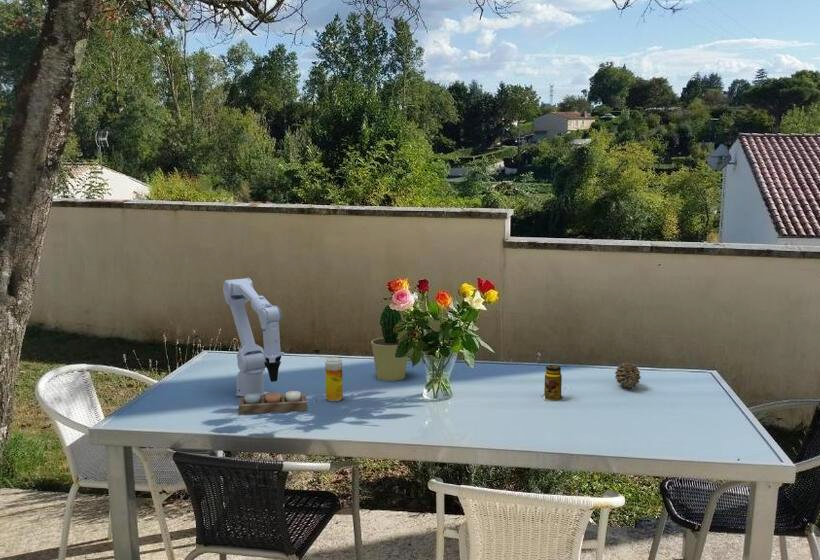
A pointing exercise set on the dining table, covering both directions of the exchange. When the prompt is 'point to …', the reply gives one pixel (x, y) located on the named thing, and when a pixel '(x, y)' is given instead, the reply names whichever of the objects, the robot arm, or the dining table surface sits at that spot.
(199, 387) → the dining table surface
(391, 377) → the potted cactus
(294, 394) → the cream button
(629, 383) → the pine cone
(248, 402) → the slate button
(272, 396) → the terracotta button
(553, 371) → the condiment
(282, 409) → the button board
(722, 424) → the dining table surface
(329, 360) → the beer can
